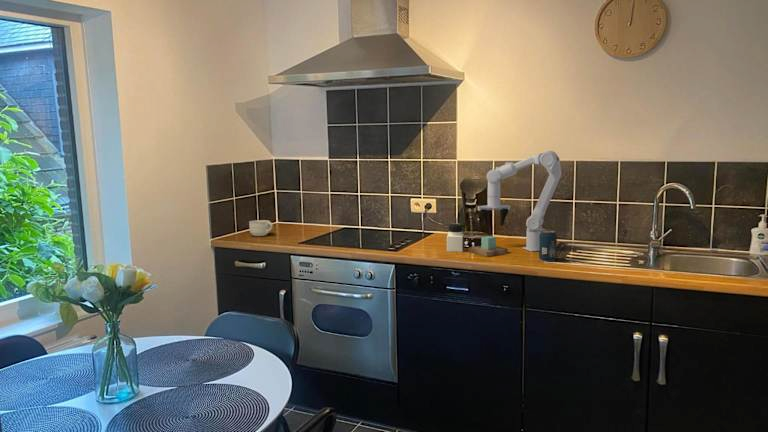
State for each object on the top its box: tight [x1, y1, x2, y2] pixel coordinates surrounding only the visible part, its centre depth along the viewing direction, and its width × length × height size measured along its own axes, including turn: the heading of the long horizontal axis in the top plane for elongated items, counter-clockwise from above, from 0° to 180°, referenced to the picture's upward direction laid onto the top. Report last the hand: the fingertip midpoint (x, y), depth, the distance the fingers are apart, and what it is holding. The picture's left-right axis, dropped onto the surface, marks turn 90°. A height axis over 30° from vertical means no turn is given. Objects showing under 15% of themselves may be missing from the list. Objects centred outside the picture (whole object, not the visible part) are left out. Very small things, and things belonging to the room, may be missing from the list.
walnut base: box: [468, 245, 508, 258], centre depth 264 cm, size 12×12×2 cm
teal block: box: [480, 235, 497, 250], centre depth 263 cm, size 4×4×5 cm
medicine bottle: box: [446, 223, 465, 253], centre depth 269 cm, size 7×7×12 cm
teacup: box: [248, 219, 274, 237], centre depth 316 cm, size 14×11×8 cm
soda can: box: [538, 229, 558, 262], centre depth 247 cm, size 7×7×12 cm
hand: (493, 225), depth 274 cm, fingers open, 7 cm apart
